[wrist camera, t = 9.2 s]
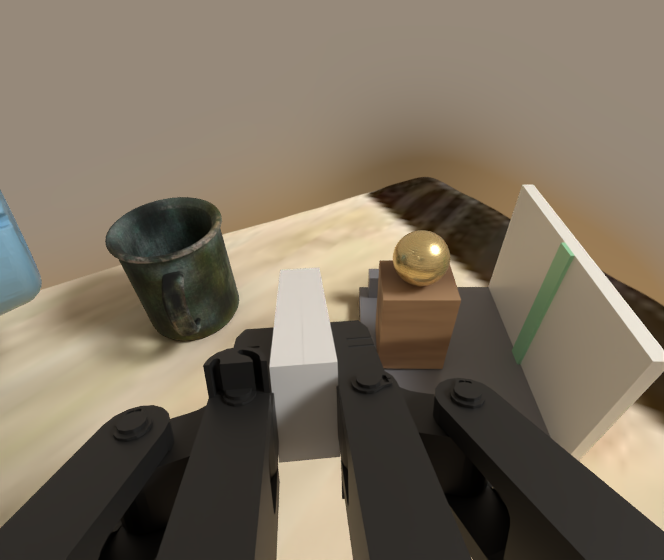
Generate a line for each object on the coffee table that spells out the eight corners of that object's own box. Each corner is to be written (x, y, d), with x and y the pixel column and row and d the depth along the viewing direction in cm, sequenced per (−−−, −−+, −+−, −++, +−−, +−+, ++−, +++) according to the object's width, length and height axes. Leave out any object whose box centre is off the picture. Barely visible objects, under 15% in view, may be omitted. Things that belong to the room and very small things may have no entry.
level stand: (567, 472, 29) (672, 361, 20) (364, 468, 30) (370, 359, 21) (493, 296, 44) (533, 184, 35) (359, 296, 45) (361, 187, 36)
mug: (237, 271, 50) (215, 189, 42) (255, 354, 39) (230, 266, 31) (151, 290, 47) (111, 207, 39) (146, 384, 37) (90, 297, 29)
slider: (442, 368, 35) (473, 255, 26) (378, 368, 35) (387, 255, 26) (433, 328, 39) (457, 217, 30) (375, 328, 39) (382, 217, 30)
